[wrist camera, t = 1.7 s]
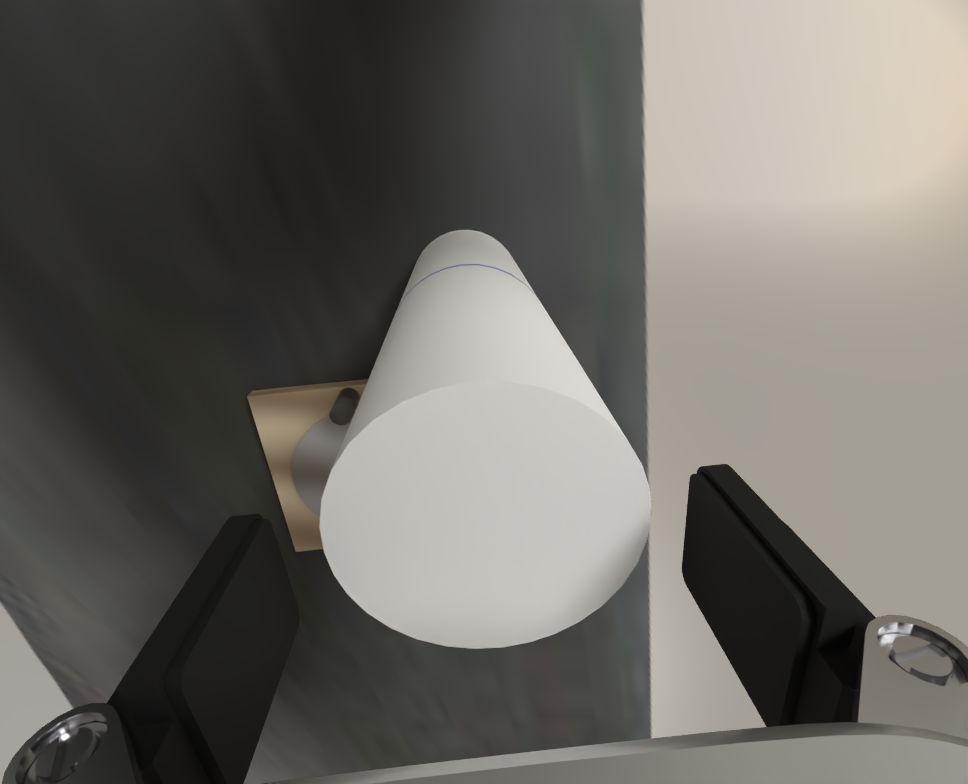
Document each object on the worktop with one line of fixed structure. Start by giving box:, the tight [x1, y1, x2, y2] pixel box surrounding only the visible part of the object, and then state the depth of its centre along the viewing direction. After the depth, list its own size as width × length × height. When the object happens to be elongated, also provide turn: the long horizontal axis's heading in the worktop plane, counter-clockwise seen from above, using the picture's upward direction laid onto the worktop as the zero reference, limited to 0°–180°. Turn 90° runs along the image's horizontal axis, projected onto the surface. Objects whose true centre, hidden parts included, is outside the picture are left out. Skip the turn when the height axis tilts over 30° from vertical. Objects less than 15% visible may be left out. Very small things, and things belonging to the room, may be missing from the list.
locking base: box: [247, 379, 368, 552], centre depth 37 cm, size 14×14×4 cm
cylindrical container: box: [319, 230, 651, 649], centre depth 22 cm, size 7×7×25 cm
